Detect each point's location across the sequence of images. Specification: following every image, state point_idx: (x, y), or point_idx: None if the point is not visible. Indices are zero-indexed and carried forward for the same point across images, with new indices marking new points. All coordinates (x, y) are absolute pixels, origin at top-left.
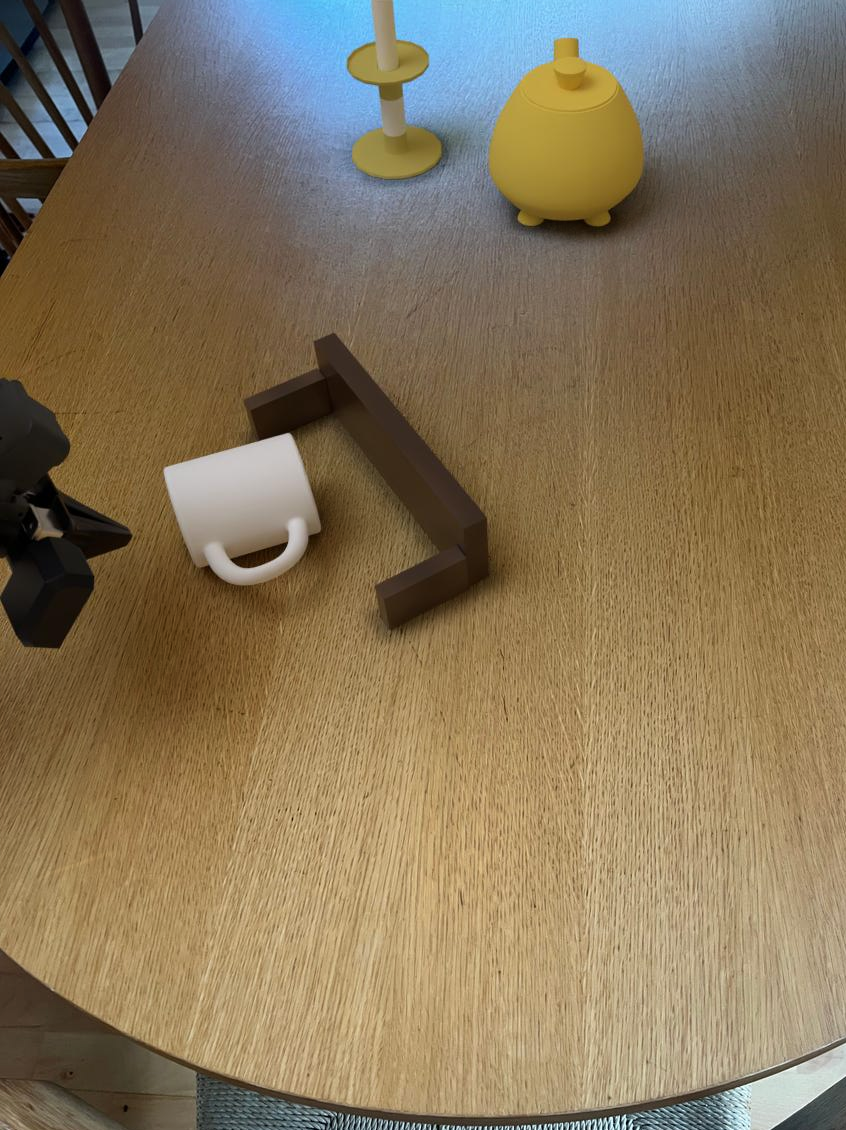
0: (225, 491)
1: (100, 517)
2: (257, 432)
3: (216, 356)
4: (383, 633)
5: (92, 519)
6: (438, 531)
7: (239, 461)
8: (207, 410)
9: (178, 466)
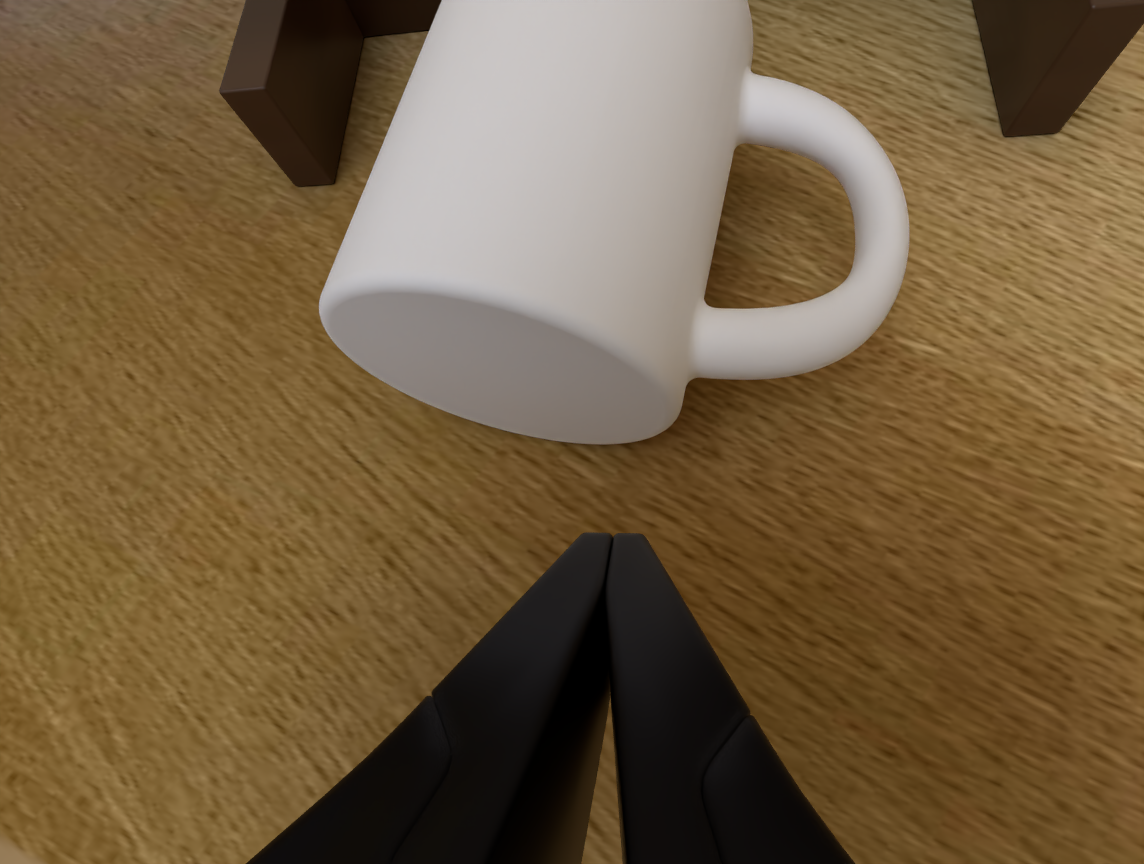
0: (612, 125)
1: (550, 640)
2: (313, 154)
3: (42, 178)
4: (1059, 149)
5: (562, 706)
6: None
7: (520, 28)
8: (157, 247)
9: (375, 228)
